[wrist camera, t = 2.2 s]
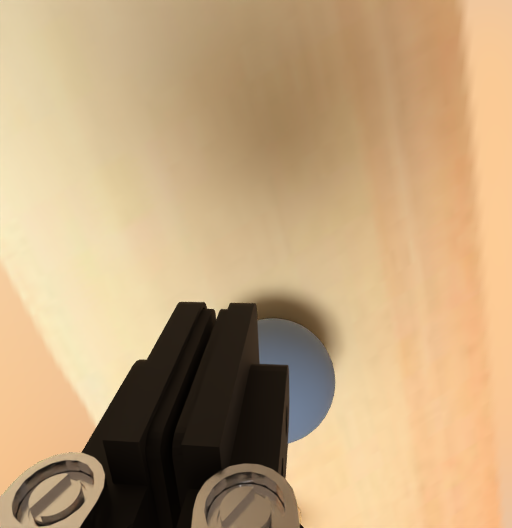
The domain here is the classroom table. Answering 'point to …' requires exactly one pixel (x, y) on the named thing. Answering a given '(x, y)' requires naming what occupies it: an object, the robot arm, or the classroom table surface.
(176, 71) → the classroom table surface
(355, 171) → the classroom table surface
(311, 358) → the ball
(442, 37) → the classroom table surface
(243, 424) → the robot arm
